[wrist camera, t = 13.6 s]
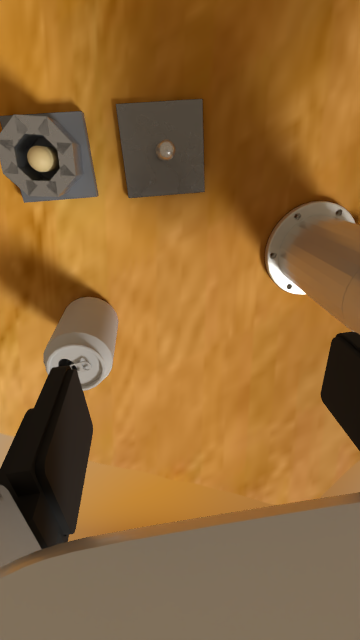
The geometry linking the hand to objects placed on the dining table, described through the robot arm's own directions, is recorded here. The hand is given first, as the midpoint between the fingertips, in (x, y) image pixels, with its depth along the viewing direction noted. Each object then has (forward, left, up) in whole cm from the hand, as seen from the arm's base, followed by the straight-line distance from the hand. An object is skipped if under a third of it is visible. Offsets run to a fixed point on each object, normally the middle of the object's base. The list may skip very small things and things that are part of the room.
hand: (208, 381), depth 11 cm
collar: (+11, -8, -29) cm, 32 cm away
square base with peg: (+11, -8, -30) cm, 33 cm away
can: (+11, +12, -31) cm, 35 cm away
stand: (-1, -8, -30) cm, 31 cm away
